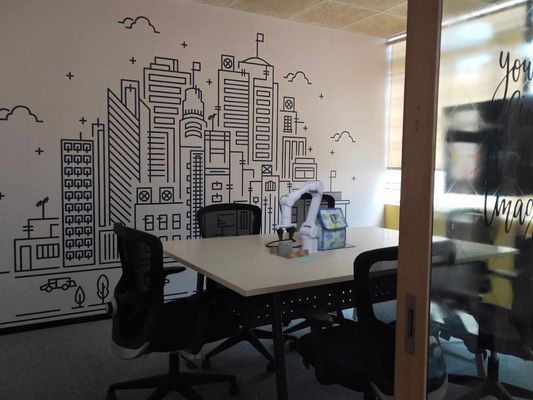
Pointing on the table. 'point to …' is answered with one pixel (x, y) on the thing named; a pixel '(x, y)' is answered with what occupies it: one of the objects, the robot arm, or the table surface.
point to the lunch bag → (330, 228)
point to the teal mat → (305, 259)
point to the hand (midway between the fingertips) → (285, 240)
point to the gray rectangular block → (285, 248)
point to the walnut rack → (290, 253)
